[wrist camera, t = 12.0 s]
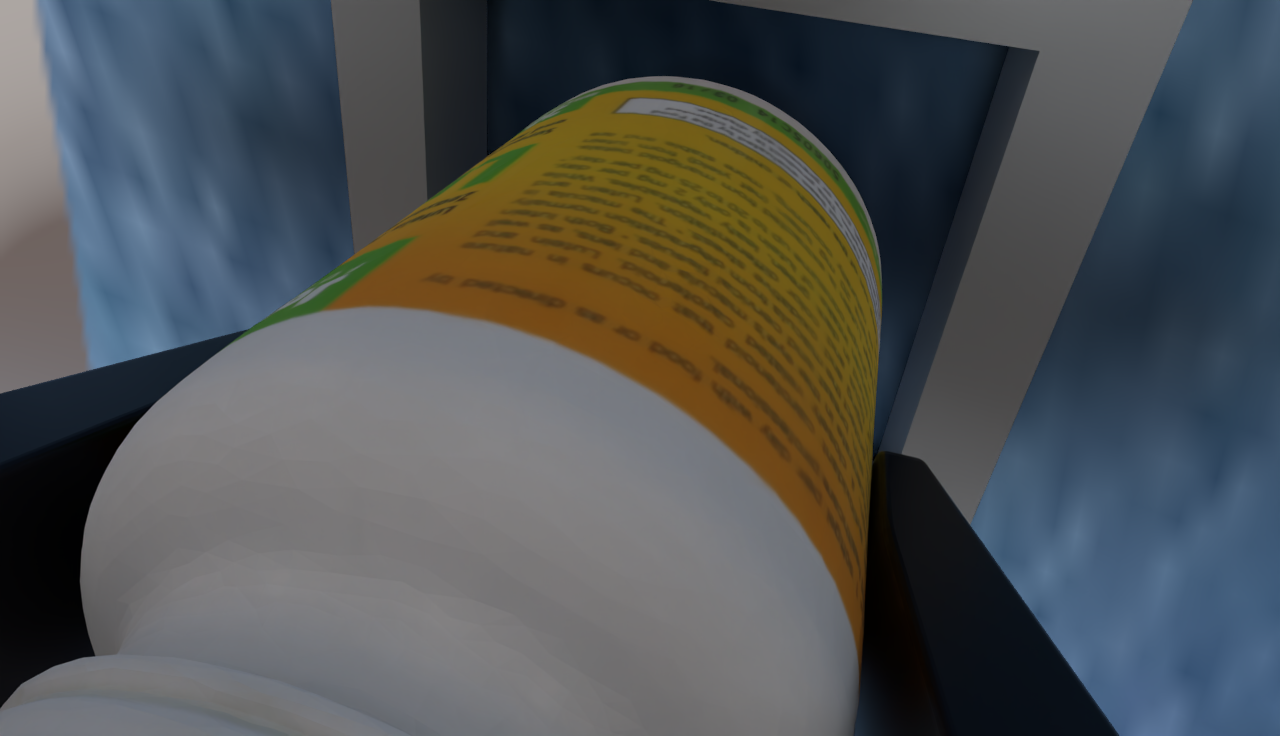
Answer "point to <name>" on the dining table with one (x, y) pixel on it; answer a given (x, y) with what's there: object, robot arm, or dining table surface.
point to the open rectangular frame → (985, 216)
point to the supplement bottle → (518, 461)
